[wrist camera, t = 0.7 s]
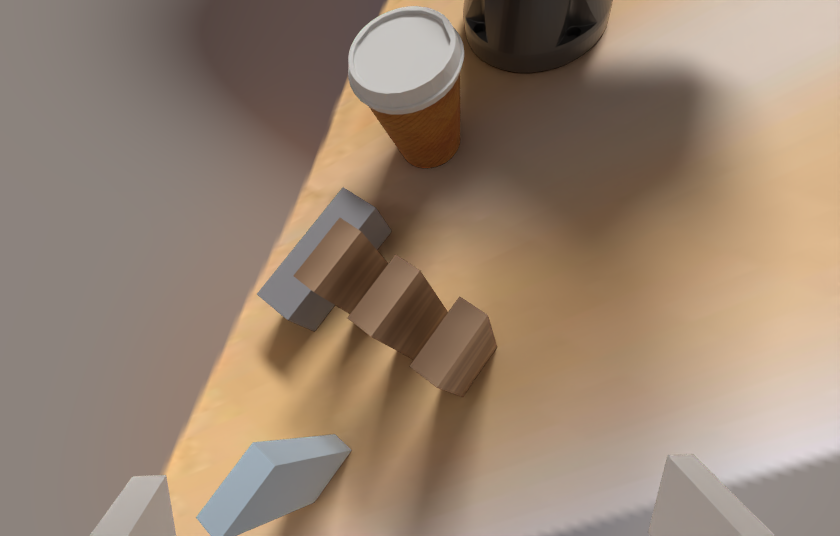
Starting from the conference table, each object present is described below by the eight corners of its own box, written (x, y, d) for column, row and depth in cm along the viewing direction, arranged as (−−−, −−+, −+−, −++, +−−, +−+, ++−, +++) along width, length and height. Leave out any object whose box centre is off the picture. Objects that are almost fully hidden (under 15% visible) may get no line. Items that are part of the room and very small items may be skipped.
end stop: (391, 231, 41) (375, 207, 36) (314, 331, 39) (287, 320, 35) (361, 212, 42) (342, 187, 38) (286, 308, 41) (256, 294, 36)
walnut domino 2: (449, 314, 37) (420, 270, 26) (415, 360, 36) (370, 336, 25) (431, 301, 38) (395, 254, 27) (398, 347, 37) (347, 318, 26)
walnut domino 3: (497, 347, 35) (487, 315, 24) (462, 396, 34) (437, 387, 23) (477, 333, 36) (459, 296, 25) (443, 382, 35) (409, 366, 24)
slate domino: (351, 450, 35) (275, 465, 24) (314, 502, 34) (217, 543, 23) (334, 434, 36) (252, 442, 25) (297, 485, 35) (195, 517, 24)
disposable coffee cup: (465, 187, 41) (446, 101, 30) (375, 177, 43) (327, 96, 32) (484, 106, 43) (473, 0, 32) (398, 102, 46) (361, 2, 35)
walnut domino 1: (405, 284, 39) (361, 231, 28) (373, 328, 38) (313, 292, 27) (389, 272, 39) (339, 217, 28) (357, 316, 39) (293, 276, 28)
